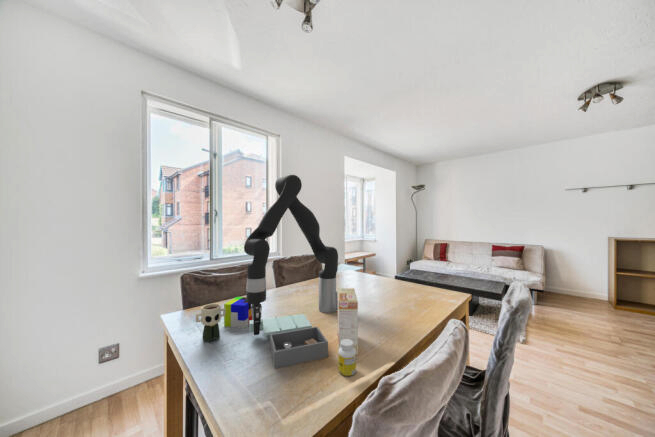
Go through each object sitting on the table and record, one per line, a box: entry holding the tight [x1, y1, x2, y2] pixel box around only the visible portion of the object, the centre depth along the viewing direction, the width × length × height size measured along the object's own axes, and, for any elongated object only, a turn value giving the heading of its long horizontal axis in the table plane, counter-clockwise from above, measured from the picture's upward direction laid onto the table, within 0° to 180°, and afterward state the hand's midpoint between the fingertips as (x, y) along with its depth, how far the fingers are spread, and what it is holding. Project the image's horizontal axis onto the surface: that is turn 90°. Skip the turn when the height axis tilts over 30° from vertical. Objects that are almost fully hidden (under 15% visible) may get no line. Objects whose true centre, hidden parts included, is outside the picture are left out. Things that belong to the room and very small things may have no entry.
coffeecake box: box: [337, 287, 359, 355], centre depth 89 cm, size 15×7×20 cm, turn 178°
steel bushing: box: [283, 342, 292, 349], centre depth 83 cm, size 3×3×3 cm
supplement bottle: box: [338, 339, 357, 378], centre depth 73 cm, size 5×5×10 cm
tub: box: [269, 326, 329, 370], centre depth 83 cm, size 18×12×6 cm, turn 110°
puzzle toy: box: [223, 296, 252, 329], centre depth 109 cm, size 10×10×10 cm
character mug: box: [195, 303, 226, 343], centre depth 94 cm, size 11×7×13 cm, turn 127°
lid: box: [248, 313, 313, 337], centre depth 96 cm, size 24×13×3 cm, turn 110°
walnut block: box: [304, 339, 318, 345], centre depth 83 cm, size 4×4×4 cm
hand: (256, 332), depth 93 cm, fingers closed on lid, 3 cm apart
